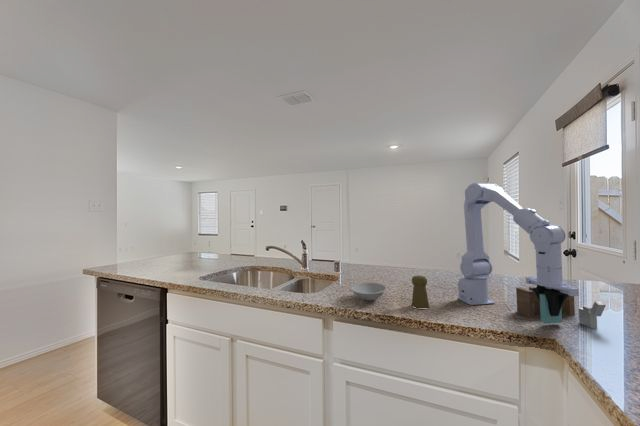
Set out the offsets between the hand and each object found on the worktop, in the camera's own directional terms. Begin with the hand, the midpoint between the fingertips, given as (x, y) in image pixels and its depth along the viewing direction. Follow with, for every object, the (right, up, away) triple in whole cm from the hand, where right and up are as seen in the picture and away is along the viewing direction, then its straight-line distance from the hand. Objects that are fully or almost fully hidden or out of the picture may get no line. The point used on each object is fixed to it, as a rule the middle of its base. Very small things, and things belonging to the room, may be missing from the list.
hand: (551, 314), depth 78 cm
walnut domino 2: (+4, -3, +9) cm, 10 cm away
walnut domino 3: (+13, -3, +10) cm, 16 cm away
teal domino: (0, -2, 0) cm, 2 cm away
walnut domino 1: (-1, -3, +9) cm, 9 cm away
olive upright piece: (-30, -5, +20) cm, 36 cm away
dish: (-47, -6, +29) cm, 56 cm away
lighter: (+10, -3, -2) cm, 10 cm away
